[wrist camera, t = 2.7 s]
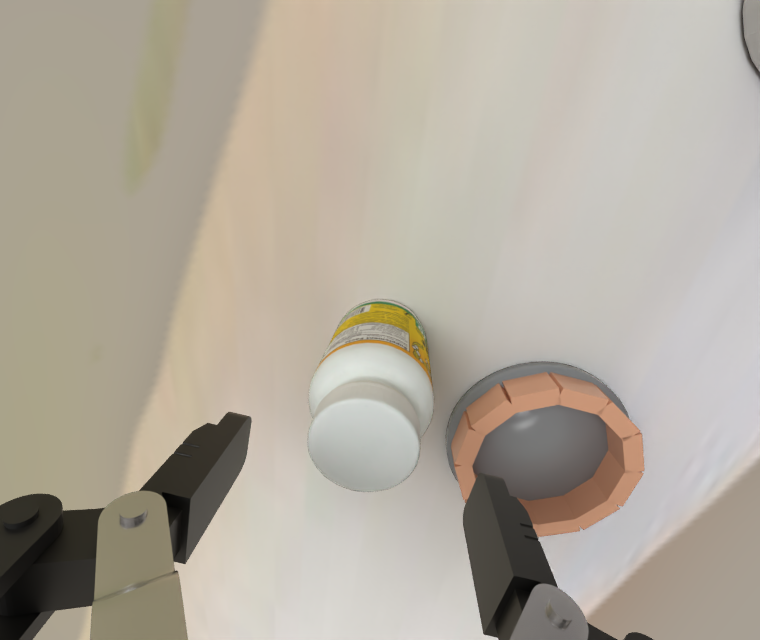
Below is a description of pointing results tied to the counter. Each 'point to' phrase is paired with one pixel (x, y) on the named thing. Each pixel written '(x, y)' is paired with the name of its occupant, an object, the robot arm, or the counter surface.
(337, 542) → the counter surface
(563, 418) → the ring tray
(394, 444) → the supplement bottle
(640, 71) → the counter surface
